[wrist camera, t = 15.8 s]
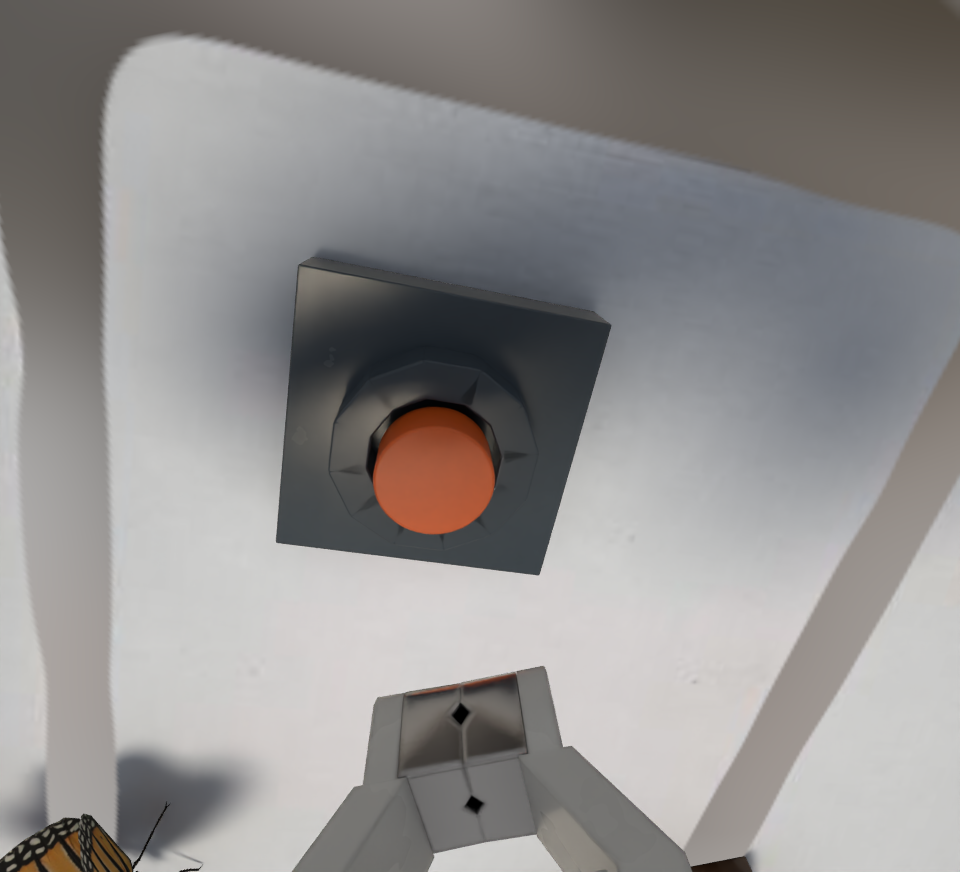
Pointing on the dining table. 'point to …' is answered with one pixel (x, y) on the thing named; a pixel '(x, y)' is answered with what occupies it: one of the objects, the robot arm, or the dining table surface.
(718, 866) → the dial panel
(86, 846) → the butterfly
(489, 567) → the button box
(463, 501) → the orange button
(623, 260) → the dining table surface
